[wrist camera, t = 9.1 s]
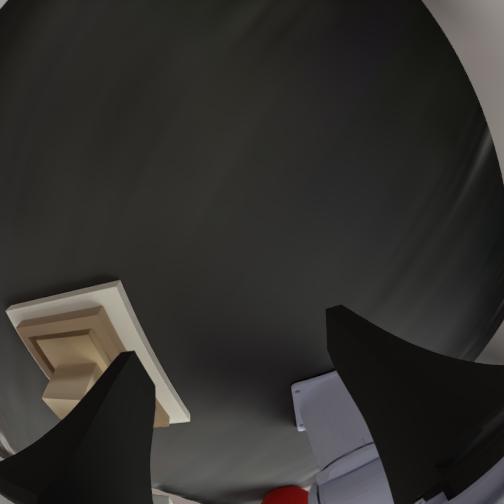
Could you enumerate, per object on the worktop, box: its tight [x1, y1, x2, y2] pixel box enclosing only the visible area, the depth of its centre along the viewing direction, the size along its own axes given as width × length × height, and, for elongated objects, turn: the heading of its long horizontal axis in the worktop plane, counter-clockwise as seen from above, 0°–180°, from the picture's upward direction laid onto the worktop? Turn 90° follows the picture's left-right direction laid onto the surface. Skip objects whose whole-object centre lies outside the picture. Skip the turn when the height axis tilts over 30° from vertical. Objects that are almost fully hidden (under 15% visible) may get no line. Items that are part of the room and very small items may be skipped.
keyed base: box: [6, 280, 190, 427], centre depth 19 cm, size 16×13×2 cm
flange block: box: [36, 328, 112, 420], centre depth 17 cm, size 10×6×5 cm, turn 10°
